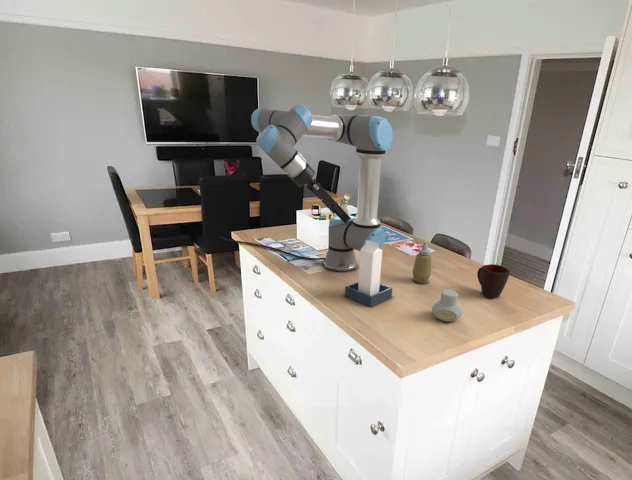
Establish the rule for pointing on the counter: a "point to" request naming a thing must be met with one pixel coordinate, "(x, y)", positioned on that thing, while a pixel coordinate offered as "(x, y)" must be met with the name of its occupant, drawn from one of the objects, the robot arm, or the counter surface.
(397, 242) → the counter surface
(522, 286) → the counter surface
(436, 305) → the air freshener
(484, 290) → the cup
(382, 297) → the blue square tray
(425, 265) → the squeeze bottle
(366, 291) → the milk
